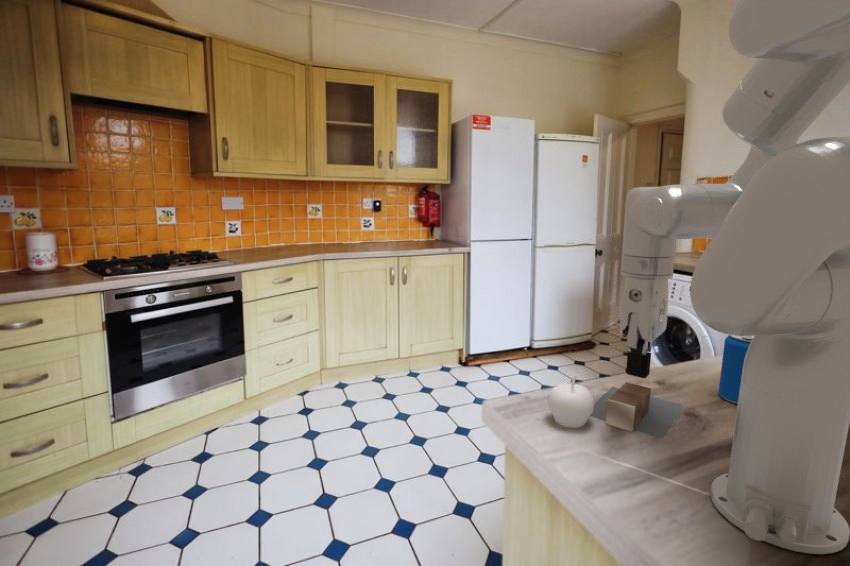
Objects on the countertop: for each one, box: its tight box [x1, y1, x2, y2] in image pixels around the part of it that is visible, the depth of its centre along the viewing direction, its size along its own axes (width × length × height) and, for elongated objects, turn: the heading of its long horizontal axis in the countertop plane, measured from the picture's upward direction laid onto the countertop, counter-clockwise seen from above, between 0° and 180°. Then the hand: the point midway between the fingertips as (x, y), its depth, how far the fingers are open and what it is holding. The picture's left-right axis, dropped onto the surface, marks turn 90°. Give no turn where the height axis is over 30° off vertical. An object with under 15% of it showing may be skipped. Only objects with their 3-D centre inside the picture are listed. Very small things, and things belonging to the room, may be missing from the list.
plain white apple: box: [547, 375, 595, 429], centre depth 73 cm, size 7×7×8 cm
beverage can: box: [717, 334, 754, 405], centre depth 80 cm, size 6×6×12 cm
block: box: [605, 381, 652, 433], centre depth 74 cm, size 4×4×9 cm
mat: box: [590, 386, 685, 439], centre depth 77 cm, size 14×12×1 cm
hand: (637, 374), depth 76 cm, fingers closed
